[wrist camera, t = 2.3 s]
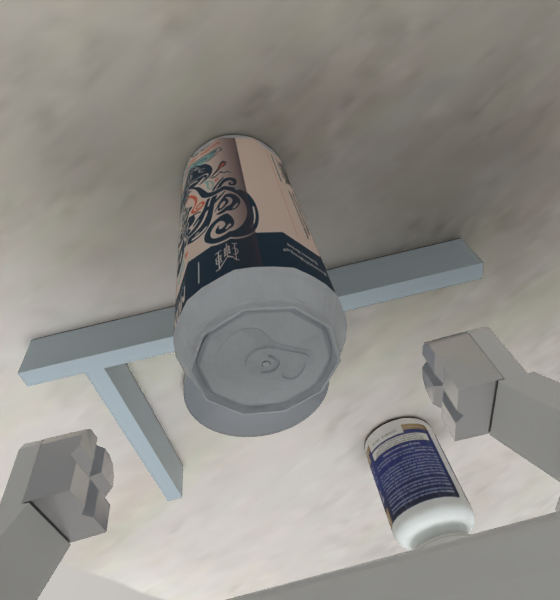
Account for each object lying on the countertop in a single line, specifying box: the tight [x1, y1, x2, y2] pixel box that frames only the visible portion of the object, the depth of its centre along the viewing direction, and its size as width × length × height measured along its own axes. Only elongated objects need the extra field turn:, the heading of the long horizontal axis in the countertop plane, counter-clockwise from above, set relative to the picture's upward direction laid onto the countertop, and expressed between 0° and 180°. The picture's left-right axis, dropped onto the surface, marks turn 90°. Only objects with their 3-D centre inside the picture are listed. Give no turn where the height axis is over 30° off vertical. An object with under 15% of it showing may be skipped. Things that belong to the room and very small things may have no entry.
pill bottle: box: [365, 418, 475, 551], centre depth 32 cm, size 5×5×10 cm
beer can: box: [173, 135, 347, 415], centre depth 17 cm, size 5×5×12 cm
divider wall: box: [18, 238, 484, 501], centre depth 28 cm, size 24×14×2 cm, turn 100°
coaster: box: [184, 373, 329, 437], centre depth 29 cm, size 9×9×1 cm
